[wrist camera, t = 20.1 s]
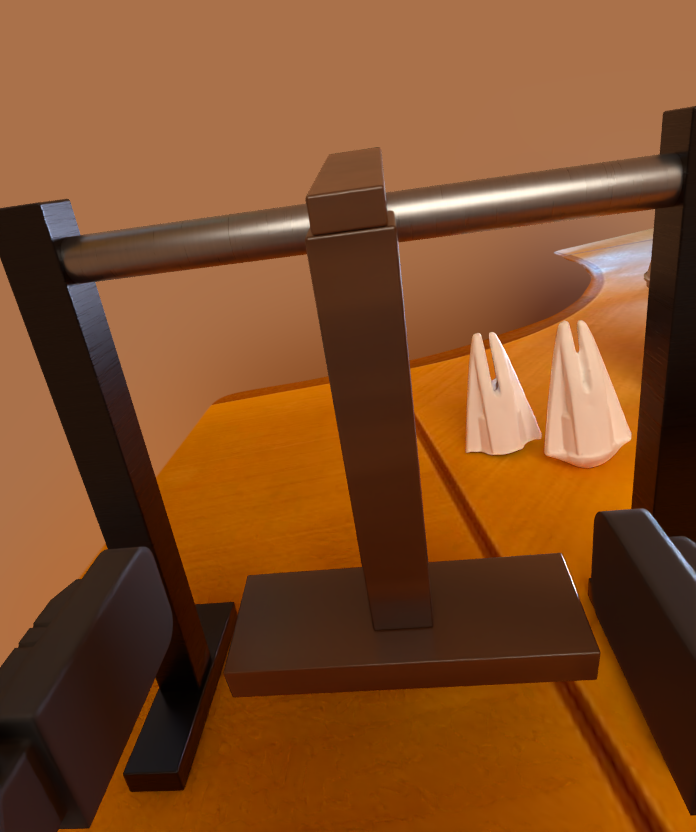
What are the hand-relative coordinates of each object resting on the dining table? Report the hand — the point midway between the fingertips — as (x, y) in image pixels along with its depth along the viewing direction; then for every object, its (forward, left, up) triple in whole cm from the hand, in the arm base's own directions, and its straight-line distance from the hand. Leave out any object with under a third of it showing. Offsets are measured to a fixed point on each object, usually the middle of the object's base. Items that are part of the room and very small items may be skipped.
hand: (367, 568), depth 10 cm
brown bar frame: (+8, +10, -11) cm, 17 cm away
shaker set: (+30, +18, -16) cm, 38 cm away
